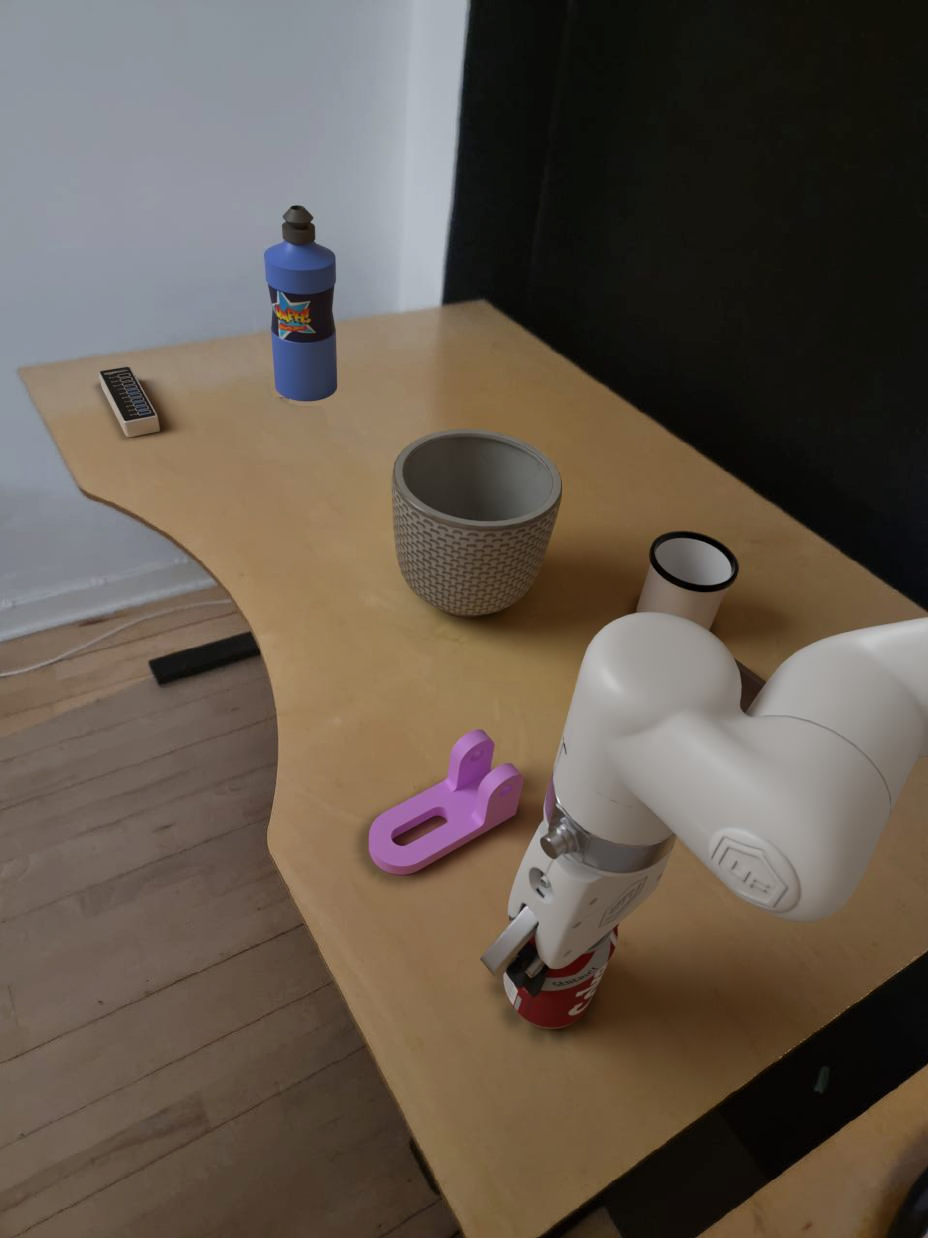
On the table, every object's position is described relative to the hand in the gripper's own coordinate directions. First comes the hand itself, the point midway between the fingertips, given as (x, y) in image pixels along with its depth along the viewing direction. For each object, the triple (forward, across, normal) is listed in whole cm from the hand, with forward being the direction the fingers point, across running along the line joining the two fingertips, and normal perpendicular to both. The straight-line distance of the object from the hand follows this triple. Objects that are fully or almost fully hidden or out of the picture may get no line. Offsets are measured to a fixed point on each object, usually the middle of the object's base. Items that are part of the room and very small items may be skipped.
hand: (561, 944), depth 60 cm
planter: (+7, +23, +38) cm, 45 cm away
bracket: (+7, +2, +16) cm, 18 cm away
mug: (+7, +41, +21) cm, 47 cm away
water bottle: (+7, +32, +86) cm, 92 cm away
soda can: (+7, 0, 0) cm, 7 cm away
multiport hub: (+7, +8, +93) cm, 94 cm away
